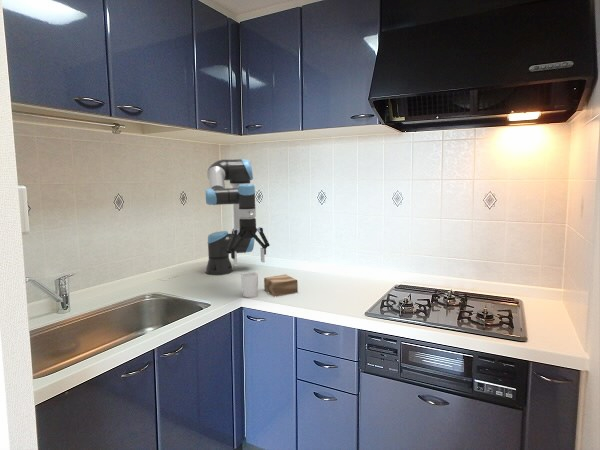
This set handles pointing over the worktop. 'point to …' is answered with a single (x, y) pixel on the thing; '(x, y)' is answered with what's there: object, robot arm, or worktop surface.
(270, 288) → the walnut box
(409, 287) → the worktop surface
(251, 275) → the white cup
